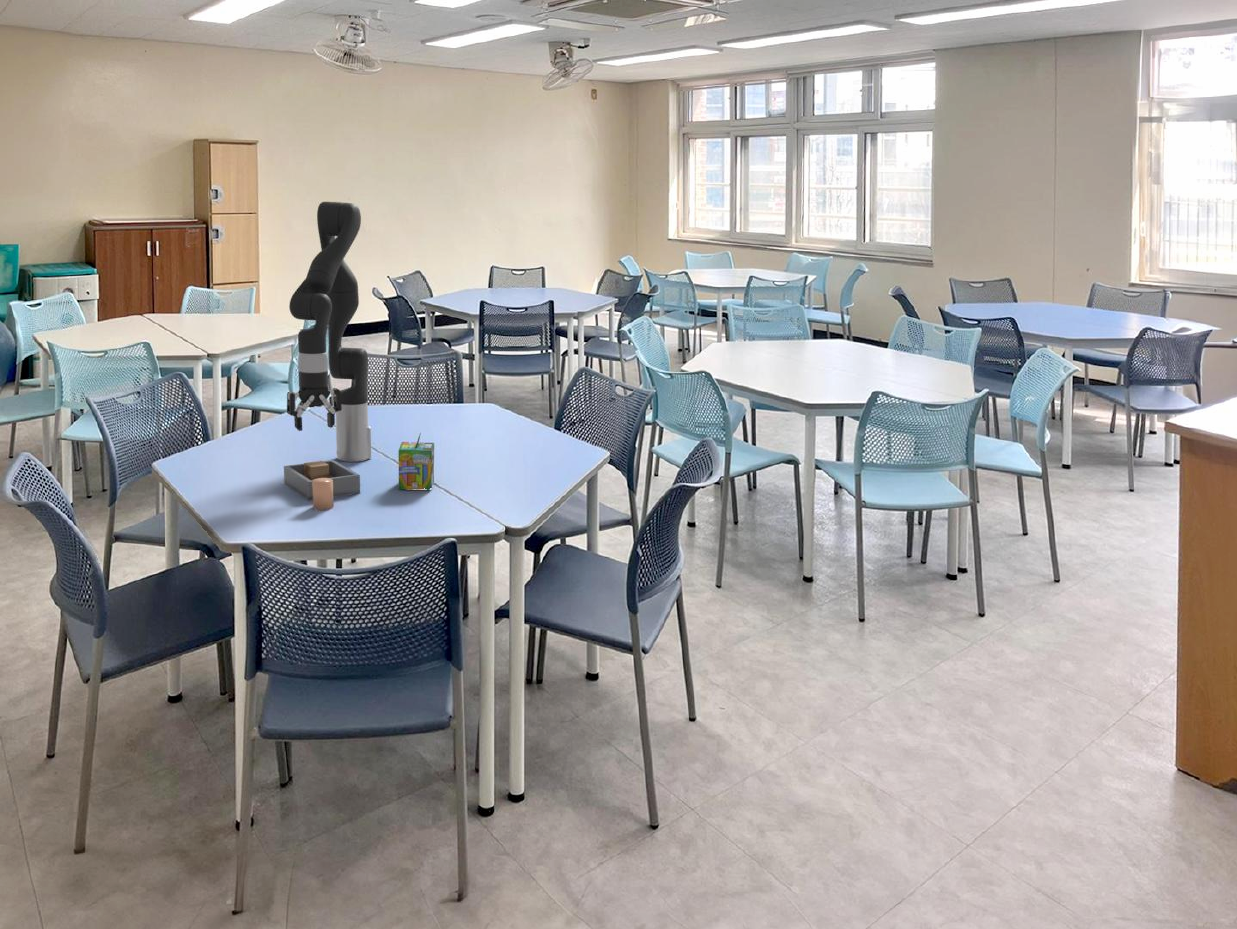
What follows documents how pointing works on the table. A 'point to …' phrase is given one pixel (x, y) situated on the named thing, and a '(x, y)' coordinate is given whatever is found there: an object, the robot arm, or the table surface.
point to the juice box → (416, 465)
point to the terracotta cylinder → (322, 493)
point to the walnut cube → (316, 470)
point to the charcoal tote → (341, 476)
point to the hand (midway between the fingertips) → (315, 428)
